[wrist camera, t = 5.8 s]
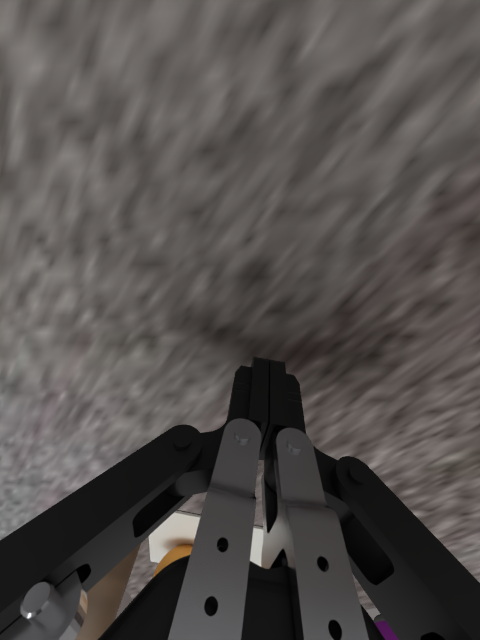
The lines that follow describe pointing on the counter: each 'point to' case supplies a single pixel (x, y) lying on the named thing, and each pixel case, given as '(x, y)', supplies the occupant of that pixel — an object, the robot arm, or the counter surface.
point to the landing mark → (190, 536)
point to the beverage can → (384, 628)
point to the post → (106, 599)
